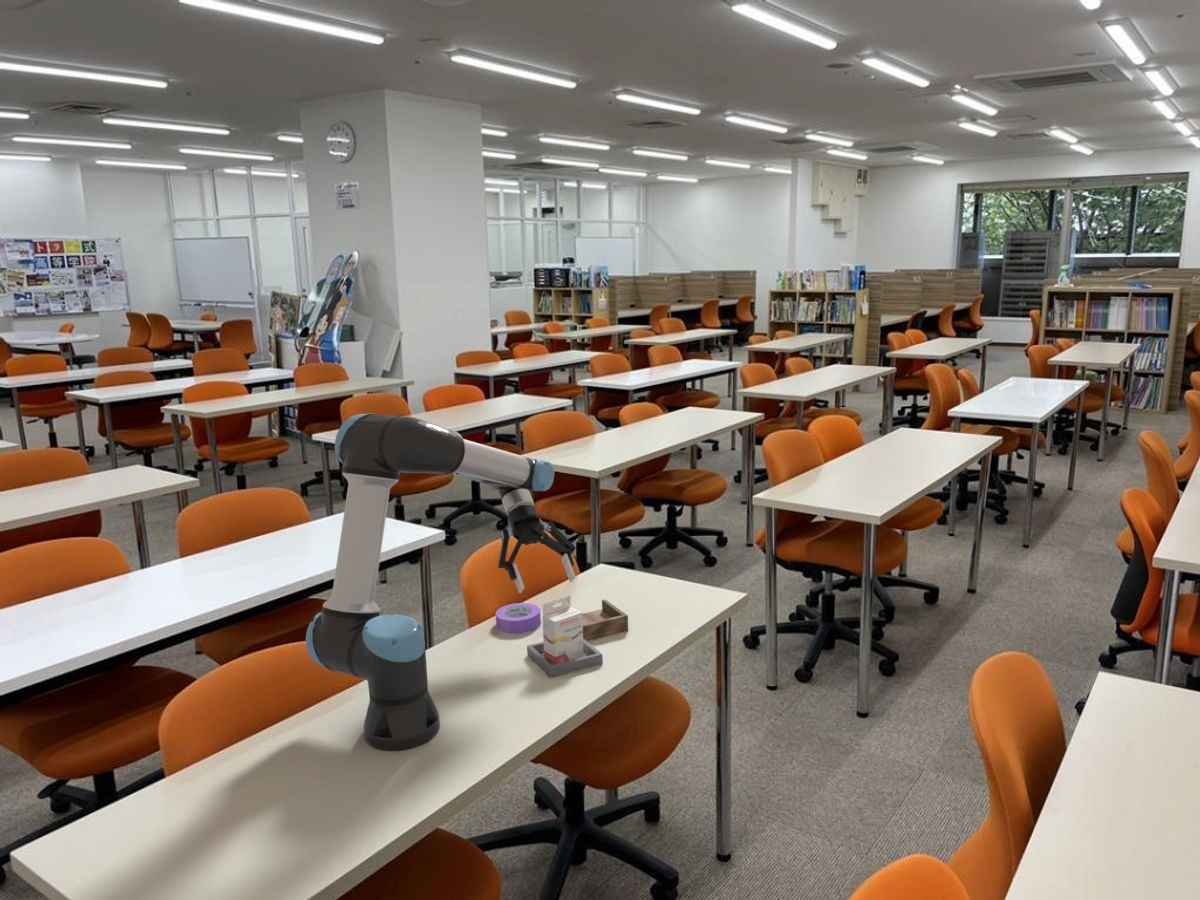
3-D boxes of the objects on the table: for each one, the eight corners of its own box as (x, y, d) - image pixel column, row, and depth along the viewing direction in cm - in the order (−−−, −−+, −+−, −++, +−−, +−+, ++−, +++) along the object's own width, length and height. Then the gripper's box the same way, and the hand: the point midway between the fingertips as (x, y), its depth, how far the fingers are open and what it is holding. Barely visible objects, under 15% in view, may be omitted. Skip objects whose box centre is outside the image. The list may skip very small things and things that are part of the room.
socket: (550, 678, 197) (549, 668, 196) (527, 655, 209) (526, 645, 208) (602, 664, 203) (602, 654, 202) (577, 642, 214) (577, 633, 214)
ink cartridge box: (556, 669, 201) (553, 609, 198) (543, 662, 205) (540, 603, 202) (585, 657, 206) (582, 599, 203) (572, 650, 210) (569, 594, 207)
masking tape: (488, 631, 223) (487, 617, 222) (507, 614, 234) (506, 600, 233) (530, 636, 220) (529, 622, 219) (547, 618, 230) (547, 604, 229)
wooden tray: (580, 643, 214) (579, 627, 213) (558, 623, 226) (557, 608, 225) (628, 631, 220) (627, 615, 219) (604, 612, 232) (603, 598, 231)
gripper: (561, 510, 229) (588, 581, 219) (471, 526, 218) (496, 602, 208) (569, 495, 223) (597, 568, 213) (477, 511, 212) (502, 588, 202)
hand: (547, 585), depth 210 cm, fingers open, 13 cm apart
